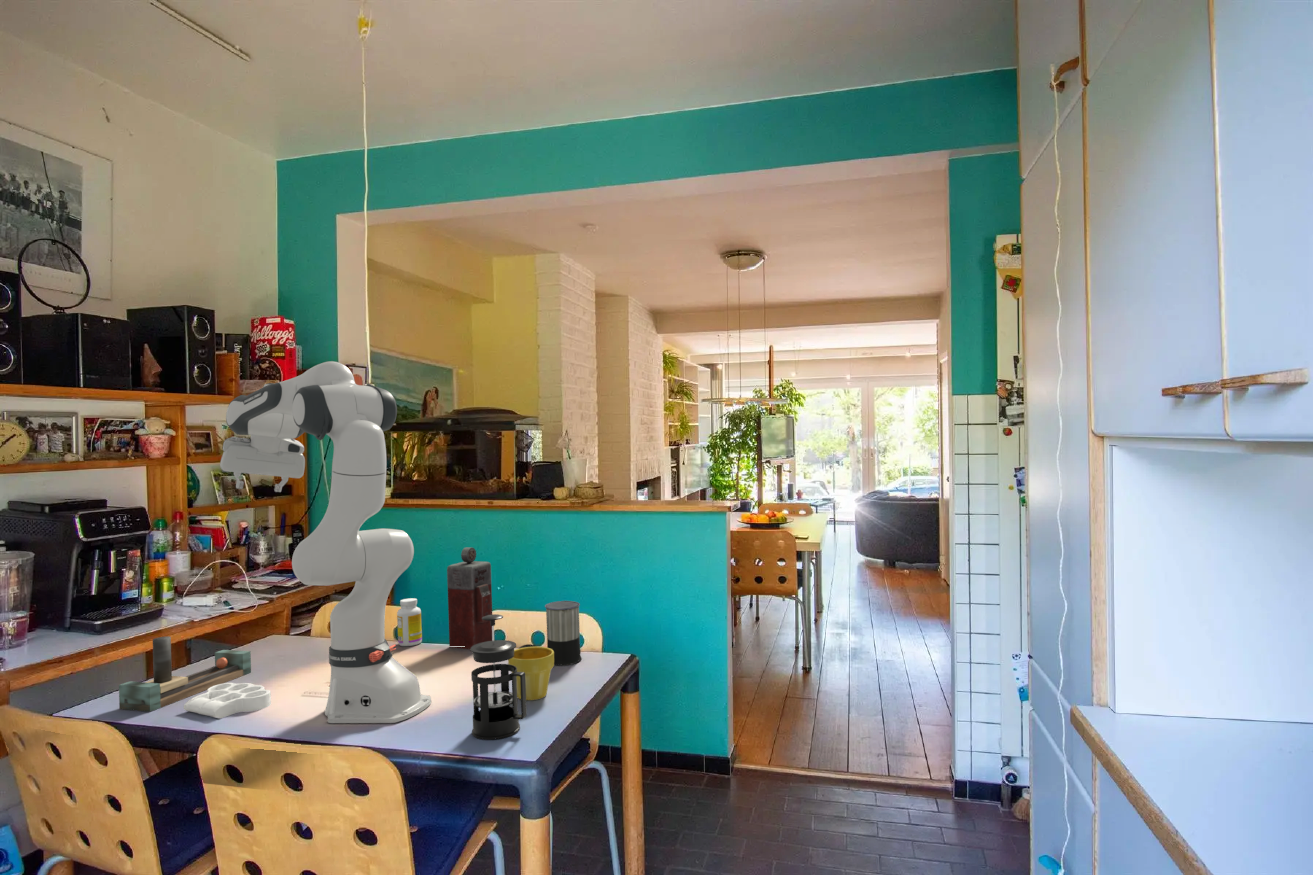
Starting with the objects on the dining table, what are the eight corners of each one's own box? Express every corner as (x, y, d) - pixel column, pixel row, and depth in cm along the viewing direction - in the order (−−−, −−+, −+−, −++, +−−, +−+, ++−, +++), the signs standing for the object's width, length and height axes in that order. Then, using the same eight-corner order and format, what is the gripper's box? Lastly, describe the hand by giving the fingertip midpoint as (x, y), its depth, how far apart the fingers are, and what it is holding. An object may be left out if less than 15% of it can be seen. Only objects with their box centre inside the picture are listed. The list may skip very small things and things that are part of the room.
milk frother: (588, 661, 189) (586, 604, 189) (532, 673, 180) (530, 614, 180) (563, 649, 201) (561, 596, 201) (509, 660, 192) (508, 604, 192)
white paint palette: (175, 712, 162) (239, 691, 175) (224, 724, 154) (287, 701, 167) (175, 697, 162) (238, 677, 175) (224, 708, 154) (286, 686, 167)
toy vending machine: (481, 650, 202) (478, 550, 202) (448, 647, 206) (445, 549, 207) (500, 642, 210) (497, 545, 210) (468, 639, 215) (465, 544, 215)
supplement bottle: (425, 640, 215) (424, 597, 215) (416, 646, 208) (414, 602, 208) (404, 640, 215) (402, 597, 215) (394, 646, 209) (392, 602, 209)
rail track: (251, 672, 189) (250, 651, 189) (150, 711, 162) (149, 687, 162) (223, 670, 191) (222, 649, 191) (119, 709, 164) (118, 684, 164)
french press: (459, 737, 141) (456, 620, 142) (483, 719, 151) (480, 609, 151) (514, 742, 138) (510, 622, 139) (535, 723, 147) (531, 610, 148)
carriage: (188, 683, 172) (186, 634, 172) (160, 693, 166) (159, 643, 166) (165, 681, 174) (163, 633, 174) (137, 691, 167) (135, 641, 167)
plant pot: (564, 694, 164) (563, 651, 164) (526, 707, 157) (524, 662, 157) (538, 684, 172) (536, 643, 172) (500, 696, 164) (499, 653, 164)
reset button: (227, 667, 186) (227, 657, 186) (224, 668, 185) (224, 658, 185) (219, 667, 186) (219, 657, 186) (216, 668, 185) (216, 658, 185)
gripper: (226, 438, 188) (216, 489, 189) (310, 448, 200) (300, 496, 202) (223, 433, 192) (213, 482, 194) (306, 443, 205) (296, 489, 207)
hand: (258, 489), depth 198 cm, fingers open, 8 cm apart
